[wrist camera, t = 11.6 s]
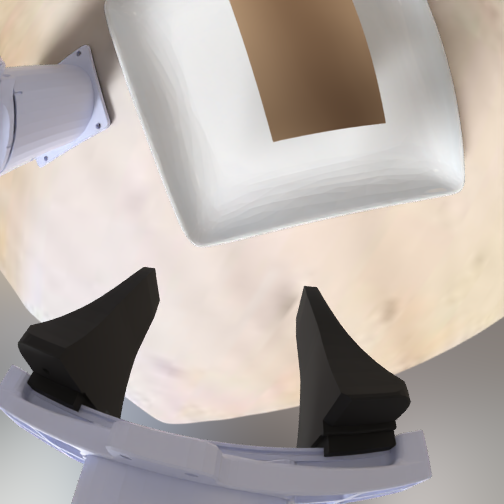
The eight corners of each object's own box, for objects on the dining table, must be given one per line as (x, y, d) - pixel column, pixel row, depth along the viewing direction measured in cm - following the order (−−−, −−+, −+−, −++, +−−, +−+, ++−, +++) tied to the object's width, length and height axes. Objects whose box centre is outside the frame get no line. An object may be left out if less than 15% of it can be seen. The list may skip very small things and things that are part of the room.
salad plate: (118, 6, 13) (95, -3, 10) (379, -54, 8) (392, -71, 5) (201, 233, 23) (190, 255, 20) (445, 178, 18) (467, 192, 15)
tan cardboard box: (274, 128, 15) (273, 142, 10) (237, 9, 11) (217, -32, 6) (348, 114, 14) (385, 123, 9) (312, -5, 10) (329, -49, 5)
